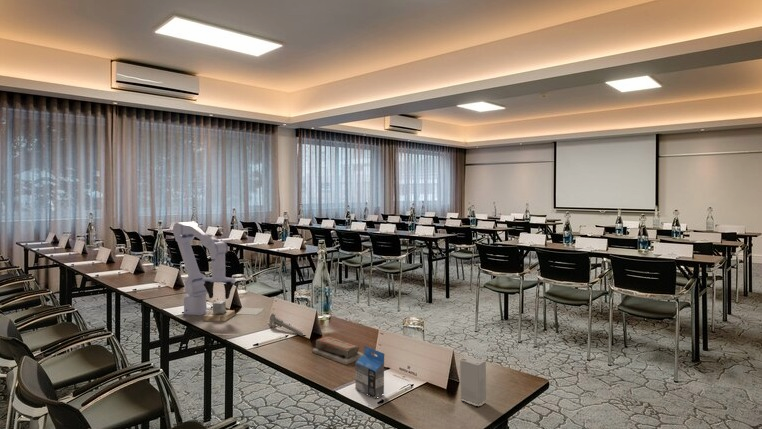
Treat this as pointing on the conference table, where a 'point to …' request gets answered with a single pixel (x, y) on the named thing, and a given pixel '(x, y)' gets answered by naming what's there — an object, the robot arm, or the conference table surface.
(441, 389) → the conference table surface
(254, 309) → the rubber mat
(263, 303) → the conference table surface
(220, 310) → the key peg
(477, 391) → the skincare box
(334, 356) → the packaged product
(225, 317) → the holder block
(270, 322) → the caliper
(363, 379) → the label tape cartridge
